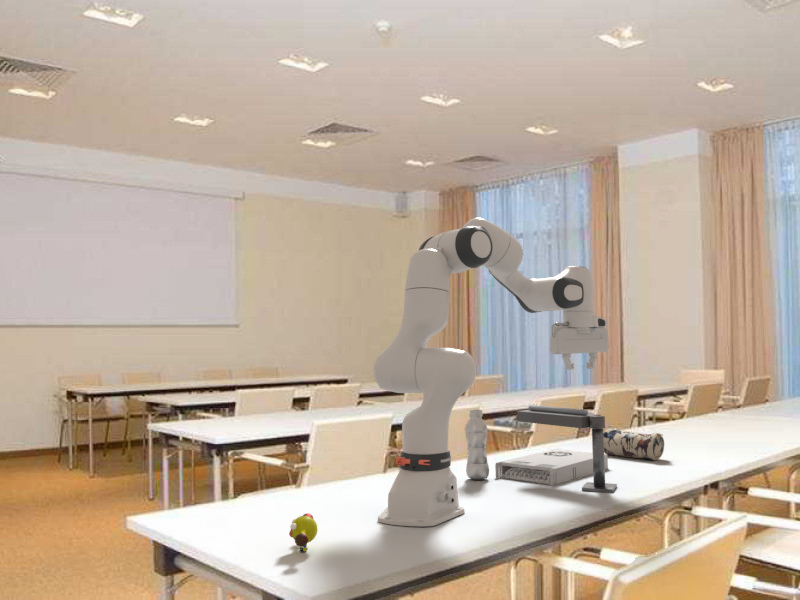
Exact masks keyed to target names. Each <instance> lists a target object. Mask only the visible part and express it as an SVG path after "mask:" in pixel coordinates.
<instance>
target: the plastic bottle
mask: <svg viewBox="0 0 800 600" xmlns="http://www.w3.org/2000/svg"><path fill="white" fill-rule="evenodd" d="M483 416H484V415H483V410H482V409H469V419H468V420H467V422H466V424H465V426H464V432H465V439H466V445H467V458H466V459H467V460H466V462H467V463H466V466H465V472H466V476H467V478H468V479H472V480H475V481H480V480H484V479H487V478H488V477H489V475H490V469H489V467H490V466H489V463H488V457H487V455H488V454H487V437H488V427H487V424H486V422H485V421H484V419H483V418H482V417H483Z"/></svg>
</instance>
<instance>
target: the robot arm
mask: <svg viewBox="0 0 800 600" xmlns="http://www.w3.org/2000/svg"><path fill="white" fill-rule="evenodd" d="M523 256H524V252H523V246H522V245H521V243H520V242H519V241H518V239H517V238H516V237H514V236H513V235H512V234H511V233H509V232H508V231H507V230H505V229H504V228H502V227H501V226H499V225H497V224H495V222H491V221H490V220H487V219H484V218H481V217H474V218H472V219H469V220H468V221H467V222H466V223H465V224H464V225H463V226H462V228H458V229H456V228H455V229H453V230H452V229H451V230H447V231H444V232H441V233H438V234H437V235H435V236H431V237H429V238H427V239H425V240H424V241H423V243H421V245H420V246H419V248H418V250H417V251H415V252H414V253H413V254H412V256H411V257H410V260H409V264H408V266H407V267H408V268H407V271H406V272H407V274H406V279H405V287H404V303H403V314H402V319H401V320H402V321H401V324H400V328H399V330H398V331H397V334H396V336H395V337H394V339H393V341H392V342H391V343H390V344H389V345H388V346H387V347H386V348H385V349H384V350H383V351H381V352H380V353H379V354H378V355H377V357H376V358H375V361H374V363H373V368H372V373H373V377H374V381H375V383H376V385H377V386H378V387H379V388H380V389H381V390H385V391H388V392H393V393H396V394H422V395H423V398H422V401H421V402H422V403H421V405H420V406H418V407H415V409H413V410H411V411H410V412H409V411H408V413H407V414H406V415H405V416H404V418H403V420H402V423H401V429H402V430H401V433H402V435H401V436H402V437H401V438H402V442H401V443H402V450H401V452H400V456H396V458H395V464H396V466H398V467H399V471H398V473H397V475H396V477H395V479H394V481H393V483H392V485H391V487H390V489H389V491H388V495H387V507H386V508H385V509H384V510H383V511H382V512H381V513H380V514H379V515H378V517H377V522H379V523H381V524H387V525H394V526H401V527H404V526H407V527H434V526H436V525H440V524H442V523H444V522H446V521H448V520H452V519H453V518H455V517H458V516H460V515H463V514H464V513H465V508H464V507H462V506H460V505H459V491H458V483H457V482H458V481H457V477H456V475H455V474H454V473H453V472H452V470H451V460H452V456H451V451H450V450H449V428H450V427H449V424H450V418H451V413H452V410H453V409H454V406H455V404H456V403H457V401H458V399H460V397H462V395H463V394H464V393H465V392H467V391H468V390H469V389H470V388H471V387H472V385H473V384H474V382H475V379H476V375H477V367H476V362H475V361H474V358H473V356H472V355H471V354H470V353H469V352H468V351H466V350H461V349H457V348H452V347H427V345H428V342H429V341H430V339H431V338H432V337H434V336H435V335H436V334H439V333H440V332H441V331H444V329H445V328H446V326H447V325H448V322H449V318H450V317H449V315H450V314H449V313H450V311H449V310H450V290H451V289H450V277H451V275H452V274H453V275H454V274H460V273H464V272H467V271H469V270H472V269H477V268H480V267H481V266H483V267H485V268H486V269H487V270H488V272H489V273H490V275H491V276H492V278H493V279H495V280H496V281H497V282H498V283H499V284H500V285H502V286H503V288H505V289H506V290H507V291H508V292H509V293H511V295H513V297H515V299H516V300H517V301H518V303H519V305H520V307H522V309H524V311H526V312H528V313H529V314H530V313H531V314H536V313H542V312H549V311H550V312H553V311H554V312H555V311H562V320H563V321H562V322H561V321H560V322H559V321H555V322H554V324H552V326H551V327H550V329H551V331H550V339H549V352H550V353H551V354H552V355H561V358H562V360H563V362H564V364H565V369H566V370H568V371H572V370H574V368H575V367H574V363H573V362H572V361H571V359H570V358H572V357H571V356H572V354H588V357H589V359H588V361H587V362H585V364H586V369H595V363H596V359H597V358H598V353H607V352H608V351H609V347H610V340H609V332H608V329H607V327H608V320H607V319H605V318H603V317H600V316H598V315H596V314H595V309H594V306H593V300H594V285H593V284H594V283H593V277H592V274H591V271H590V269H588V268H587V267H586V266H581V265H569V266H565V267H564V269H563V271H561V272H560V273H558V274H557V275H555V276H553V277H552V276H551V277H544V278H529V277H526V276H525V275H523V273H522V272H520V271H519V267H520V265H521V264H522V261H523V259H524V258H523Z"/></svg>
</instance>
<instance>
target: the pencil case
mask: <svg viewBox="0 0 800 600" xmlns="http://www.w3.org/2000/svg"><path fill="white" fill-rule="evenodd" d="M603 433H604V454H607V455H609V456H614V457H623V458H632V459H640V460H641V459H642V460H650V461H657V460H659V459H660V458H661V457H662V455H664V451H665V440H664V437H663V436H664V435H663V434H662V433H661V432H660V433H659V432H653V433H649V434H647V433H641V432H631V431H627V430H621V429H619V430H618V429H617V428H616V427H615V426H613V427H612V425H607V429H606V430H604V431H603Z"/></svg>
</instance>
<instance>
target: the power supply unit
mask: <svg viewBox="0 0 800 600" xmlns="http://www.w3.org/2000/svg"><path fill="white" fill-rule="evenodd" d="M604 463H605V470H607V469H609V460H608V455H607V454H605V453H604ZM494 469H495V478H496V479H505V480H513V481H520V482H526V483H533V484H540V485H545V486H547V485H549V486H554V485H559V484H561V483H565V482H568V480H569V481H571V479H572V480H574V479H579V478H581V477H584V476H589V475H592V474H593V452H589V451H588V452H587V451H580V450H579V451H578V450H567V449H559V448H554V449H548V450H545V451H540V452H535V453H532V454H527V455H523V456H520V457H519V456H518V457H513V458H510V459H506V460H502V461H497V462H495V466H494ZM578 477H579V478H578Z"/></svg>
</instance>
